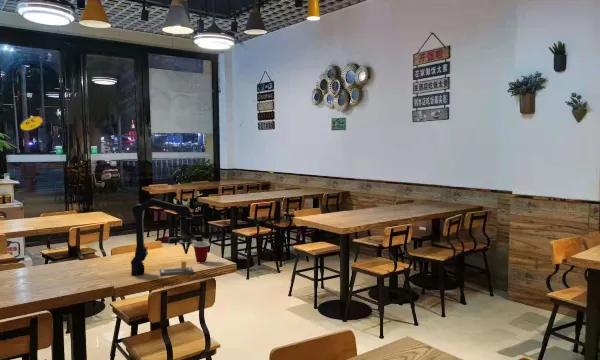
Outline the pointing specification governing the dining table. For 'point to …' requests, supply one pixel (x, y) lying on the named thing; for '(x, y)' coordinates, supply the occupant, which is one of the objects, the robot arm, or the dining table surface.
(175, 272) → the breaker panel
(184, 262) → the handle
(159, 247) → the dining table surface
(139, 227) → the robot arm
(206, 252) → the plastic cup
